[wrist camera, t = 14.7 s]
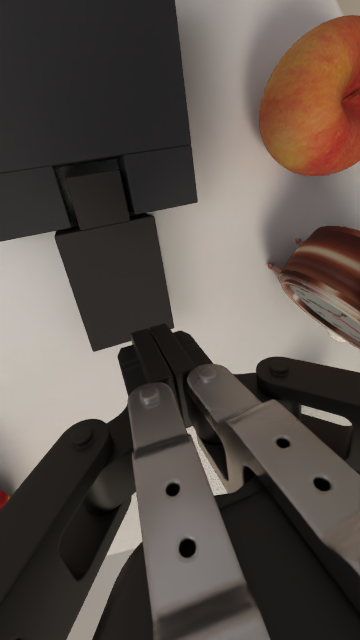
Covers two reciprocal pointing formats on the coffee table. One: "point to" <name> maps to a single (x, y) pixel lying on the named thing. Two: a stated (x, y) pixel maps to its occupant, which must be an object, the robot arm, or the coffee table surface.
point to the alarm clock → (327, 279)
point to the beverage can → (3, 498)
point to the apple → (316, 101)
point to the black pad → (112, 262)
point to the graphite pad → (90, 106)
